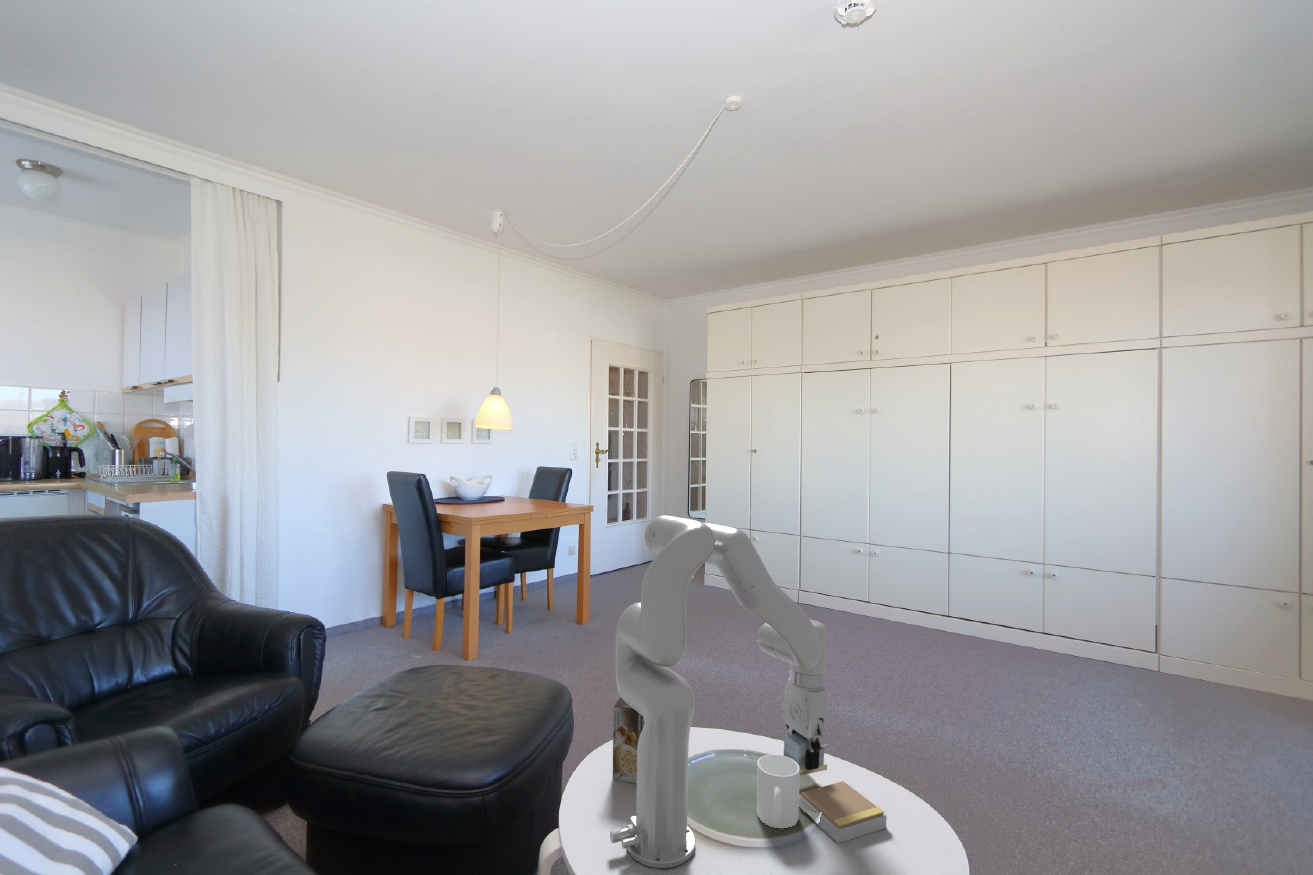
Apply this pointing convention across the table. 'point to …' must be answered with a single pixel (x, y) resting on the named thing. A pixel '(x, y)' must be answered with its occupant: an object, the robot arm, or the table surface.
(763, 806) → the mug
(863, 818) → the dock
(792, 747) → the banded blue box
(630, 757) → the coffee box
